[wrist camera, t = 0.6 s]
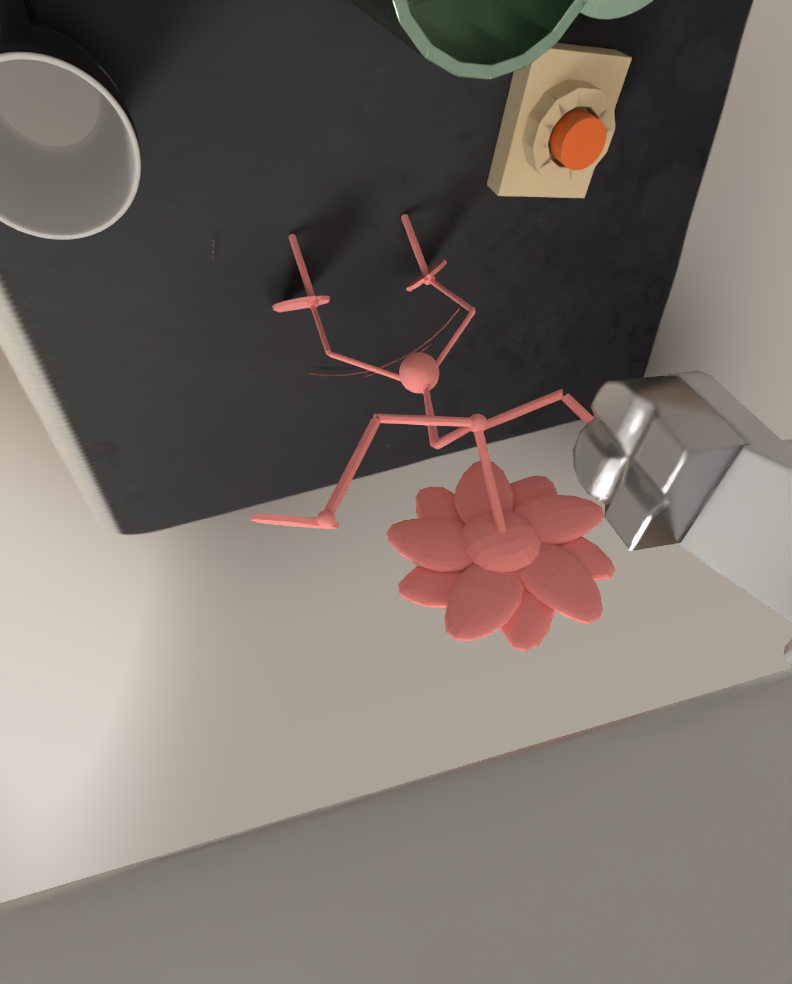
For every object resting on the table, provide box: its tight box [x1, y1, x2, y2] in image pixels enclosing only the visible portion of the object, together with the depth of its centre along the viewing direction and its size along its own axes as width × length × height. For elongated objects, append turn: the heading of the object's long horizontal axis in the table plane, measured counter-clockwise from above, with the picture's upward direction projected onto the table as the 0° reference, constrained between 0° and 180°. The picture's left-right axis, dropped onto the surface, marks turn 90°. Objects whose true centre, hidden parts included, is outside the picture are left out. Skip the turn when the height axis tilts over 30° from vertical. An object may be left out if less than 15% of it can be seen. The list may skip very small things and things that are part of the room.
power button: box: [550, 110, 606, 170], centre depth 50 cm, size 4×4×2 cm
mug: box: [0, 0, 141, 240], centre depth 37 cm, size 12×9×10 cm
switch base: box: [487, 43, 632, 198], centre depth 51 cm, size 10×8×4 cm
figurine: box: [212, 214, 615, 652], centre depth 47 cm, size 15×26×35 cm, turn 92°
